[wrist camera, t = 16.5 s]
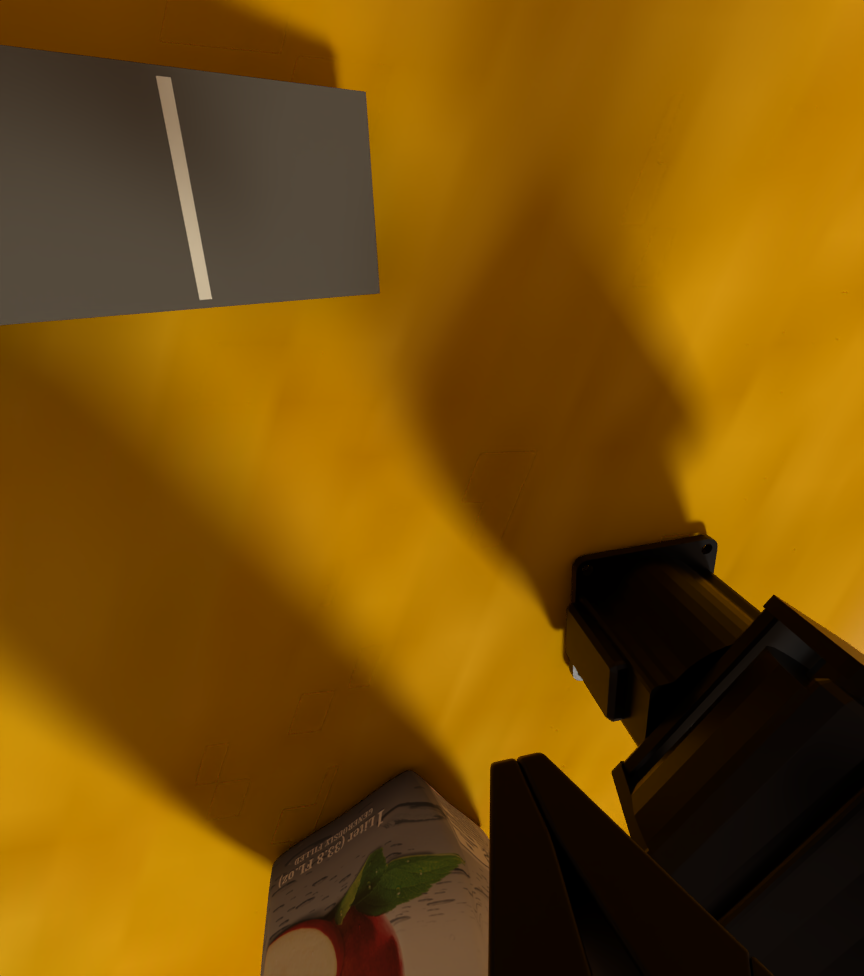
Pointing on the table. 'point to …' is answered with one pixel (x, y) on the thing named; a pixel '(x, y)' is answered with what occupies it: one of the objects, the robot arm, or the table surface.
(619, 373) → the table surface
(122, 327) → the table surface
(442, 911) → the juice carton
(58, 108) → the domino
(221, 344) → the table surface
